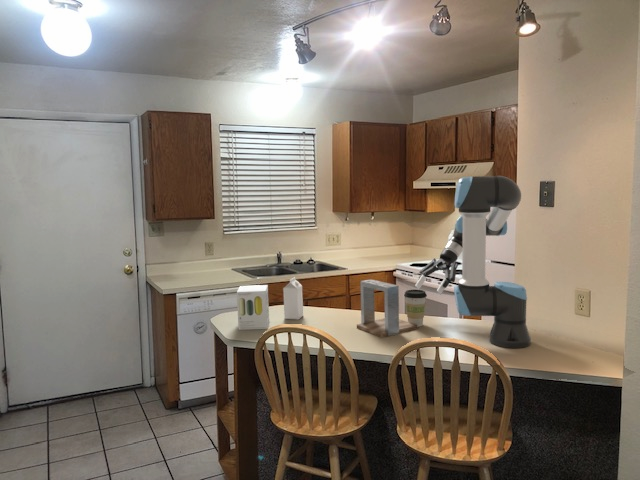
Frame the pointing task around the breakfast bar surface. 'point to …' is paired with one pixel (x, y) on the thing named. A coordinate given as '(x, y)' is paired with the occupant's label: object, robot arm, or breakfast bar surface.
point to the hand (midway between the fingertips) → (427, 290)
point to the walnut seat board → (379, 327)
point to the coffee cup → (415, 306)
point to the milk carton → (293, 300)
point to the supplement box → (253, 307)
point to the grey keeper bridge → (390, 304)
